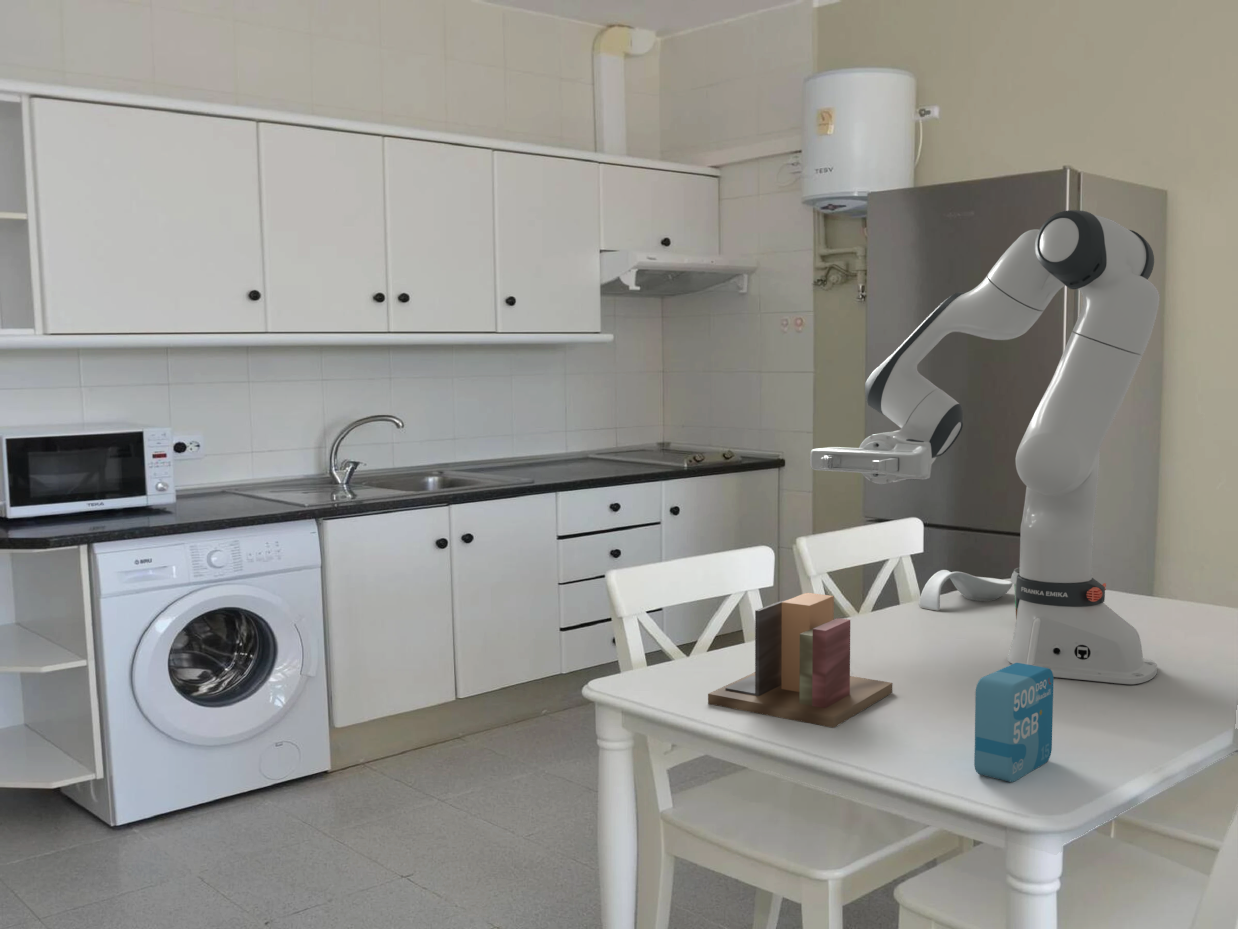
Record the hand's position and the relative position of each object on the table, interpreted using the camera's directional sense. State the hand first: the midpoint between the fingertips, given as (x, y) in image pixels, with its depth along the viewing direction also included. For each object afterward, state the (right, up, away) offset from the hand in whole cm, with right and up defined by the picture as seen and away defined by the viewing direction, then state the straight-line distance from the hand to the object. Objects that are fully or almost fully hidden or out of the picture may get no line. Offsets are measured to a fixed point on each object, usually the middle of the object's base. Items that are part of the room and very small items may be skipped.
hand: (849, 464), depth 199 cm
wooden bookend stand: (-11, -34, -22) cm, 42 cm away
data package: (+10, -37, -52) cm, 65 cm away
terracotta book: (-10, -33, -20) cm, 40 cm away
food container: (+38, -30, +24) cm, 54 cm away
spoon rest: (+32, -28, +43) cm, 60 cm away
